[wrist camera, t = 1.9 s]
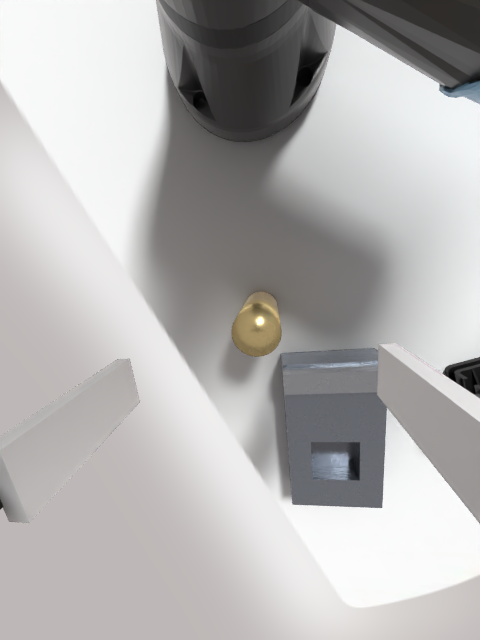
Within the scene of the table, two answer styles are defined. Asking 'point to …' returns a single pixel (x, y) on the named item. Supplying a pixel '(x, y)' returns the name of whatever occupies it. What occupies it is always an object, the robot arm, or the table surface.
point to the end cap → (466, 374)
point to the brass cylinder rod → (257, 325)
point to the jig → (334, 427)
